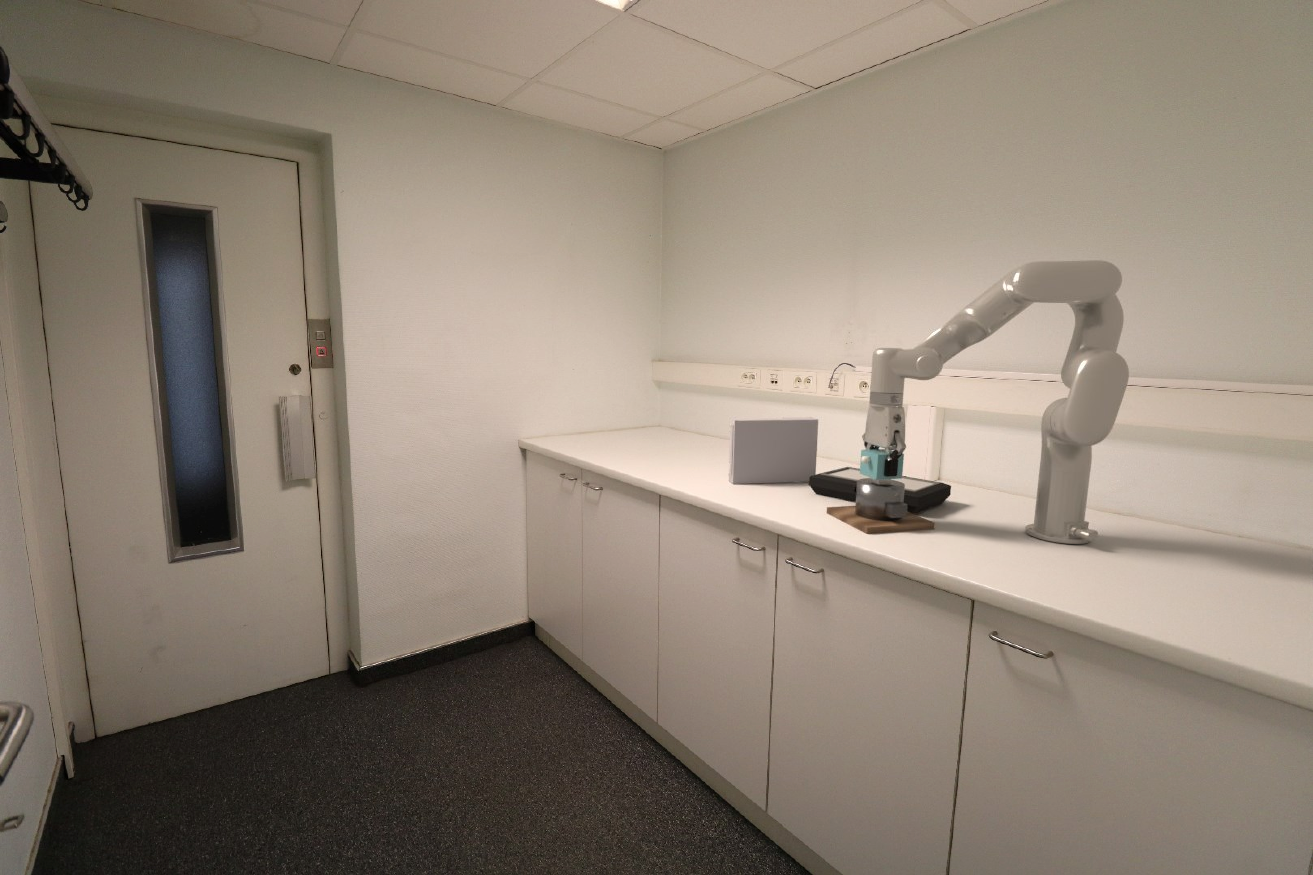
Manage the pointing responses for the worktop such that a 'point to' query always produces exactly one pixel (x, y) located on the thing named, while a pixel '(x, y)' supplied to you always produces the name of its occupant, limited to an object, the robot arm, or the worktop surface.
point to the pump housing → (877, 464)
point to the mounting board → (877, 526)
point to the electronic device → (916, 490)
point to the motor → (880, 499)
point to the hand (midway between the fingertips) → (880, 472)
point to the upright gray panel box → (772, 450)
